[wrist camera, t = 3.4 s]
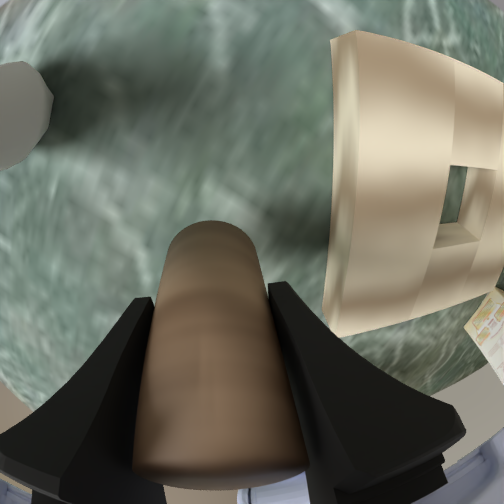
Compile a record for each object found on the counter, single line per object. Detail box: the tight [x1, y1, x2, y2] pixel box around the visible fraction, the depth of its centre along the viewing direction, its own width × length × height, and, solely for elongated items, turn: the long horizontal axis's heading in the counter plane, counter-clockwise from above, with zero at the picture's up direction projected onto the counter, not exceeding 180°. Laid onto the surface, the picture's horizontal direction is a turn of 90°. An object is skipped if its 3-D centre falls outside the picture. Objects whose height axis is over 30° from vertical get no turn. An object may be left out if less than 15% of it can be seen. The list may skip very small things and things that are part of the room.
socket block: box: [322, 30, 504, 338], centre depth 15 cm, size 18×18×3 cm
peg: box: [132, 220, 310, 490], centre depth 8 cm, size 4×4×9 cm
